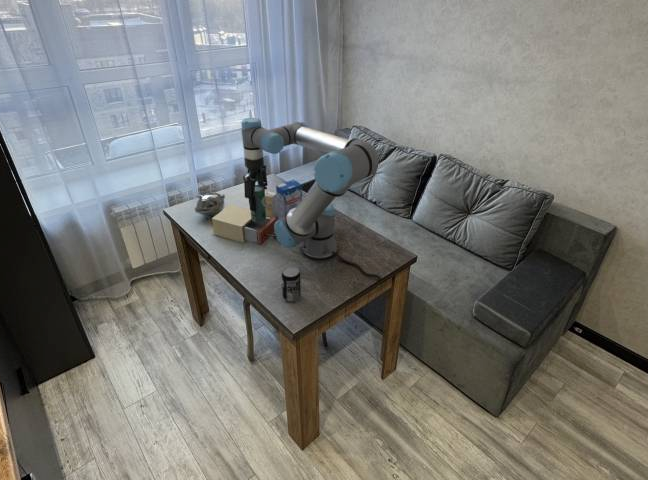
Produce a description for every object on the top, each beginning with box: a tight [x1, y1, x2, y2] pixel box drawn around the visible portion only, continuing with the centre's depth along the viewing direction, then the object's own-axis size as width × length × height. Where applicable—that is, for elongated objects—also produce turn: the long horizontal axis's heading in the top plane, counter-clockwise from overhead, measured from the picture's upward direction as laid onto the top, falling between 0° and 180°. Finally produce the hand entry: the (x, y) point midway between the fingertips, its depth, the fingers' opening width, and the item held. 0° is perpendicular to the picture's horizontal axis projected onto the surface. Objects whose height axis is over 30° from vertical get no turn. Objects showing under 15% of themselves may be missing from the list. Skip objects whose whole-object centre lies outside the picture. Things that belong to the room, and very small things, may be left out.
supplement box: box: [265, 189, 278, 221], centre depth 191 cm, size 8×5×13 cm, turn 68°
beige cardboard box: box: [211, 203, 251, 244], centre depth 180 cm, size 16×14×9 cm
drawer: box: [243, 217, 278, 246], centre depth 177 cm, size 20×13×7 cm, turn 68°
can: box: [250, 184, 266, 222], centre depth 170 cm, size 6×6×15 cm
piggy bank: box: [194, 192, 226, 220], centre depth 190 cm, size 11×15×12 cm
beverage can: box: [281, 265, 302, 302], centre depth 144 cm, size 7×7×12 cm
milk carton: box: [275, 179, 303, 221], centre depth 186 cm, size 10×6×20 cm, turn 131°
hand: (257, 206), depth 171 cm, fingers closed on can, 6 cm apart
